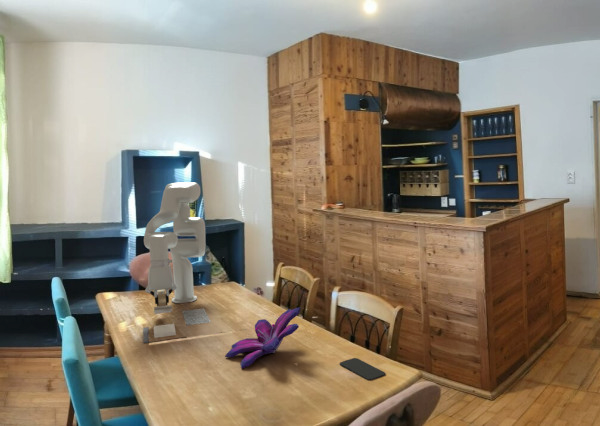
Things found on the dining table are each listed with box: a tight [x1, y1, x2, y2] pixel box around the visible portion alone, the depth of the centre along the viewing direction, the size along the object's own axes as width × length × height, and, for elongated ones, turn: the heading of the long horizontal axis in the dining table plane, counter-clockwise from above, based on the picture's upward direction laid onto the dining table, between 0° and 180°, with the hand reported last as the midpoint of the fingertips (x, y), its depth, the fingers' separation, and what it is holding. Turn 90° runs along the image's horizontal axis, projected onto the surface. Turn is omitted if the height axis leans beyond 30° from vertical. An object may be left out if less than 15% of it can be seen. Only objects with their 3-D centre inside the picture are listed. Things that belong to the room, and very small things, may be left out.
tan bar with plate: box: [153, 289, 173, 315], centre depth 193 cm, size 18×7×6 cm, turn 20°
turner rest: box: [181, 308, 211, 326], centre depth 199 cm, size 22×10×1 cm, turn 19°
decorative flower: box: [224, 307, 301, 369], centre depth 156 cm, size 31×31×10 cm
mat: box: [142, 327, 186, 344], centre depth 181 cm, size 18×16×1 cm
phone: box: [339, 357, 387, 381], centre depth 141 cm, size 7×1×15 cm
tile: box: [153, 323, 177, 339], centre depth 179 cm, size 2×8×10 cm
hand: (162, 304), depth 194 cm, fingers closed on tan bar with plate, 3 cm apart
